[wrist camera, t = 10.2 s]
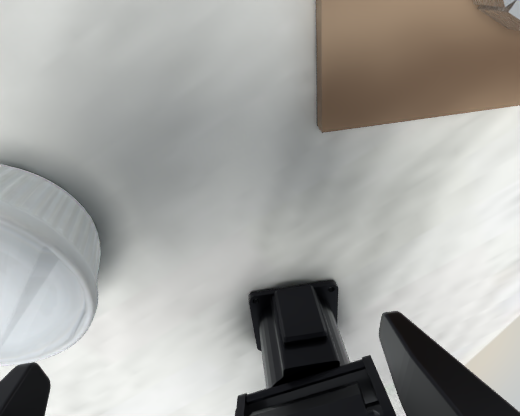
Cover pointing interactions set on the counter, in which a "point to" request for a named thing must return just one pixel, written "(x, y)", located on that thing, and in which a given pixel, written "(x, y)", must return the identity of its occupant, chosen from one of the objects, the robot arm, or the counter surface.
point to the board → (410, 61)
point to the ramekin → (43, 268)
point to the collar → (502, 11)
